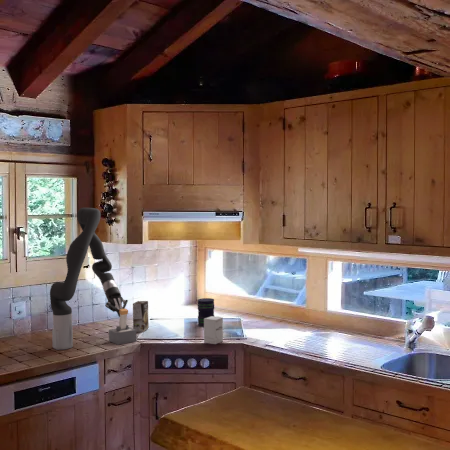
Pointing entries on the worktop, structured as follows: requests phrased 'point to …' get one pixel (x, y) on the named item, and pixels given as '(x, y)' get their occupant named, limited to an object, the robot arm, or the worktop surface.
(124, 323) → the lever
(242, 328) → the worktop surface
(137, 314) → the coffee box
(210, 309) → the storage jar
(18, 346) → the worktop surface
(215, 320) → the supplement box
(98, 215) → the robot arm
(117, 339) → the block
